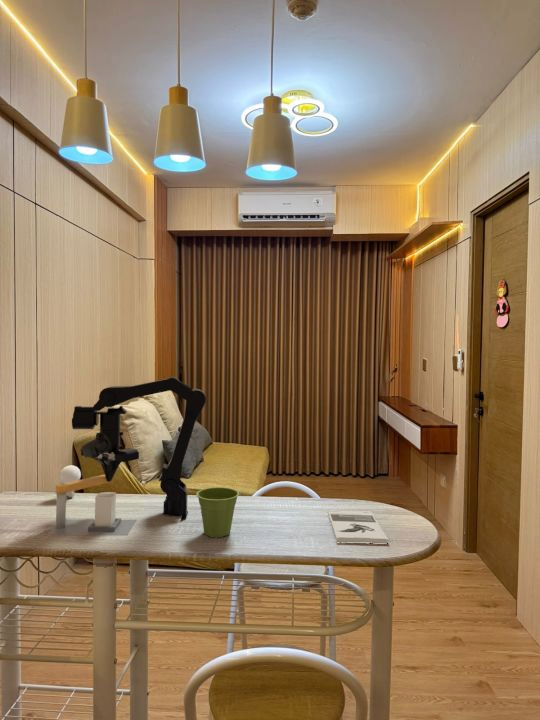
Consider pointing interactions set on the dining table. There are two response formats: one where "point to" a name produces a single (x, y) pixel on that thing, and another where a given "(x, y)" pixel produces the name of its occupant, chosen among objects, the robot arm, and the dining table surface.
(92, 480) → the bar
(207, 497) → the plant pot
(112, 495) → the plug
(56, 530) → the socket board
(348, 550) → the dining table surface
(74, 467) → the light bulb
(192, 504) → the dining table surface
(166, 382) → the robot arm
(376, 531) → the book
